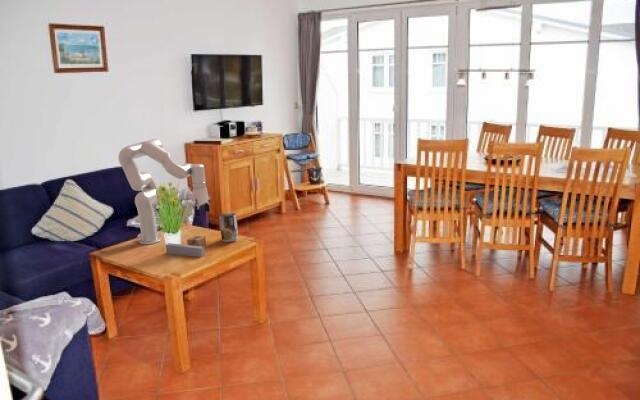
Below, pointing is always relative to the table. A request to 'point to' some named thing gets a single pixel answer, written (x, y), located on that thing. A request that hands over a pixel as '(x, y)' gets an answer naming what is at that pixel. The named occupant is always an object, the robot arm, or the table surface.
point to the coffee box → (228, 227)
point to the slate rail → (185, 250)
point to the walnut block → (197, 241)
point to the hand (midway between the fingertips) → (202, 213)
